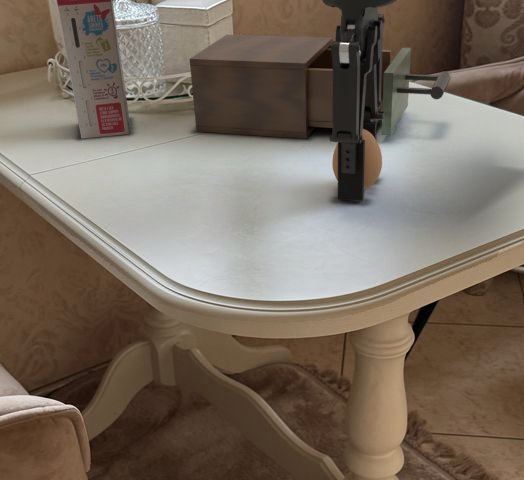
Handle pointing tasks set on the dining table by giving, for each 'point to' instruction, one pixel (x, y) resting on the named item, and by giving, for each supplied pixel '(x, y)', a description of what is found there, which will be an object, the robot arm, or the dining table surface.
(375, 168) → the egg
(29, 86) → the dining table surface
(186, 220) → the dining table surface
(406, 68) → the drawer
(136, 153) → the dining table surface
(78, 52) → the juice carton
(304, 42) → the cabinet
